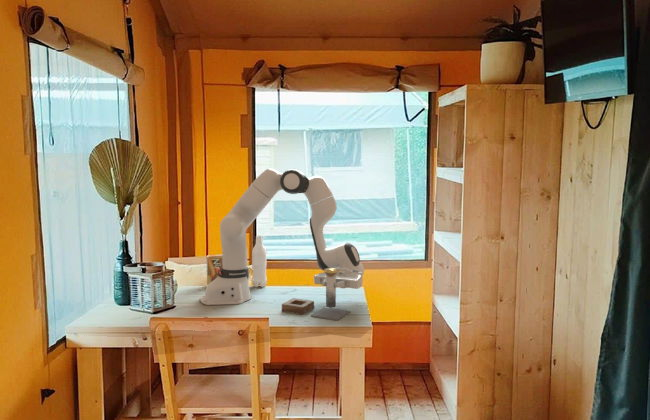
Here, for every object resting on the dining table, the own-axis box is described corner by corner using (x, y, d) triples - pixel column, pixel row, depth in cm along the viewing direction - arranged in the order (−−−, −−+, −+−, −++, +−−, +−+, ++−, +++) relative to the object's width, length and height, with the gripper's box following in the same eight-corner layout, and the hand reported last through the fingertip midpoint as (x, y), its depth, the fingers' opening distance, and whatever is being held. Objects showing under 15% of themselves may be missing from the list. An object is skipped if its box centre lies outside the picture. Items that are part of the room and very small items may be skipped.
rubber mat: (337, 320, 206) (337, 319, 205) (310, 316, 211) (310, 315, 211) (349, 312, 216) (349, 311, 216) (323, 308, 221) (323, 307, 221)
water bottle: (264, 288, 254) (263, 237, 251) (250, 287, 255) (249, 237, 252) (268, 284, 261) (268, 235, 258) (255, 284, 262) (254, 234, 259)
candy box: (224, 284, 261) (224, 254, 260) (226, 286, 257) (225, 255, 256) (206, 285, 258) (206, 255, 256) (208, 287, 254) (207, 256, 252)
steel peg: (326, 308, 210) (326, 271, 208) (322, 304, 215) (322, 268, 213) (339, 307, 211) (339, 270, 210) (334, 303, 217) (335, 267, 215)
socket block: (303, 314, 213) (303, 307, 213) (281, 311, 217) (281, 304, 217) (314, 307, 222) (314, 301, 222) (293, 304, 226) (293, 298, 226)
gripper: (321, 267, 228) (307, 274, 215) (365, 272, 219) (353, 279, 207) (321, 282, 229) (307, 289, 216) (365, 287, 220) (353, 295, 207)
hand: (330, 284), depth 211 cm, fingers closed on steel peg, 4 cm apart
